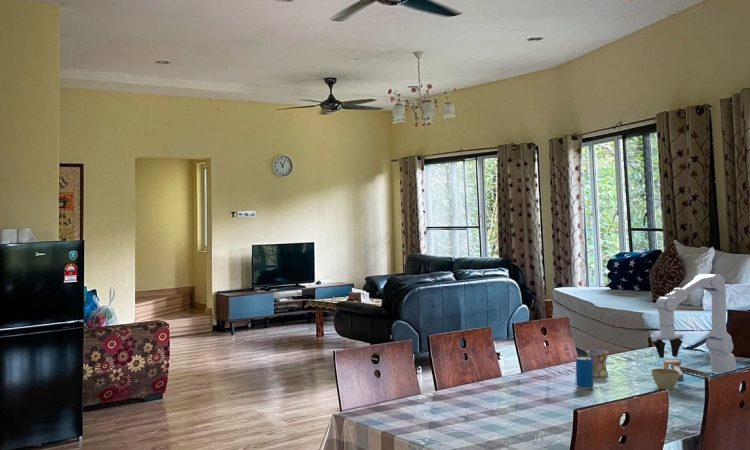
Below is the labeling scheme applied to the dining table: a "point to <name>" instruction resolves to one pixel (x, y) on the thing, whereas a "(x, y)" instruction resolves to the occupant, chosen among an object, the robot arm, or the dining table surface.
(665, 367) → the sleeve
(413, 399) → the dining table surface
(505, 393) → the dining table surface
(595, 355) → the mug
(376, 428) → the dining table surface
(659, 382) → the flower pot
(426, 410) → the dining table surface
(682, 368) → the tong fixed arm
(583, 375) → the beverage can
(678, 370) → the tong jaw
